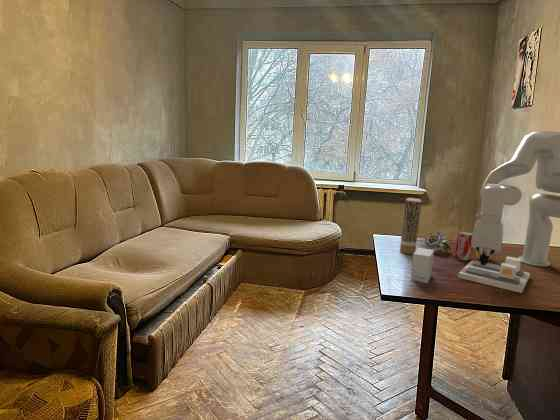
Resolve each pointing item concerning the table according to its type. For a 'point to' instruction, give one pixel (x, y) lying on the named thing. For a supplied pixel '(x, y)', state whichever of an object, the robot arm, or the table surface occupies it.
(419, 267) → the skincare box
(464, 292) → the table surface
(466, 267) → the panel
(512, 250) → the table surface
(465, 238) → the soda can
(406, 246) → the paper tube
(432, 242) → the passion flower
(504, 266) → the block
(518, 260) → the block
